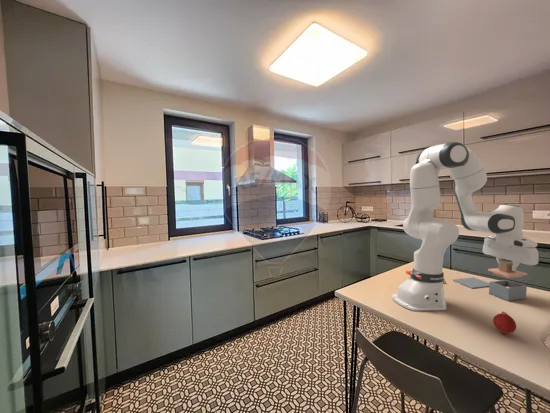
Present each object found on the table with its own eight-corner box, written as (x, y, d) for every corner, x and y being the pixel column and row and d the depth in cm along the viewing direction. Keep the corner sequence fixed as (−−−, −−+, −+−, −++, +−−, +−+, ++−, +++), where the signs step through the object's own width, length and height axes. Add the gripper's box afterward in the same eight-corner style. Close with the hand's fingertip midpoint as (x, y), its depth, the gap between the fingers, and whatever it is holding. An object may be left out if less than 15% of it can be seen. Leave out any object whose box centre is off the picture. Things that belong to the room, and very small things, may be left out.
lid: (508, 279, 103) (508, 266, 103) (487, 273, 111) (488, 260, 111) (526, 277, 105) (527, 264, 104) (505, 271, 113) (506, 259, 113)
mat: (472, 288, 118) (472, 287, 118) (452, 280, 129) (452, 279, 129) (494, 285, 120) (494, 285, 120) (473, 278, 131) (473, 277, 131)
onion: (503, 328, 85) (504, 307, 84) (520, 338, 79) (521, 315, 79) (488, 329, 85) (489, 308, 84) (504, 339, 79) (505, 316, 78)
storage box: (508, 301, 104) (508, 288, 103) (489, 293, 112) (489, 281, 111) (526, 299, 105) (526, 286, 105) (506, 291, 113) (506, 279, 113)
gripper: (479, 235, 117) (478, 262, 117) (530, 244, 96) (528, 277, 97) (490, 235, 118) (488, 261, 118) (542, 244, 97) (540, 276, 98)
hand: (507, 268), depth 108 cm, fingers closed on lid, 3 cm apart
